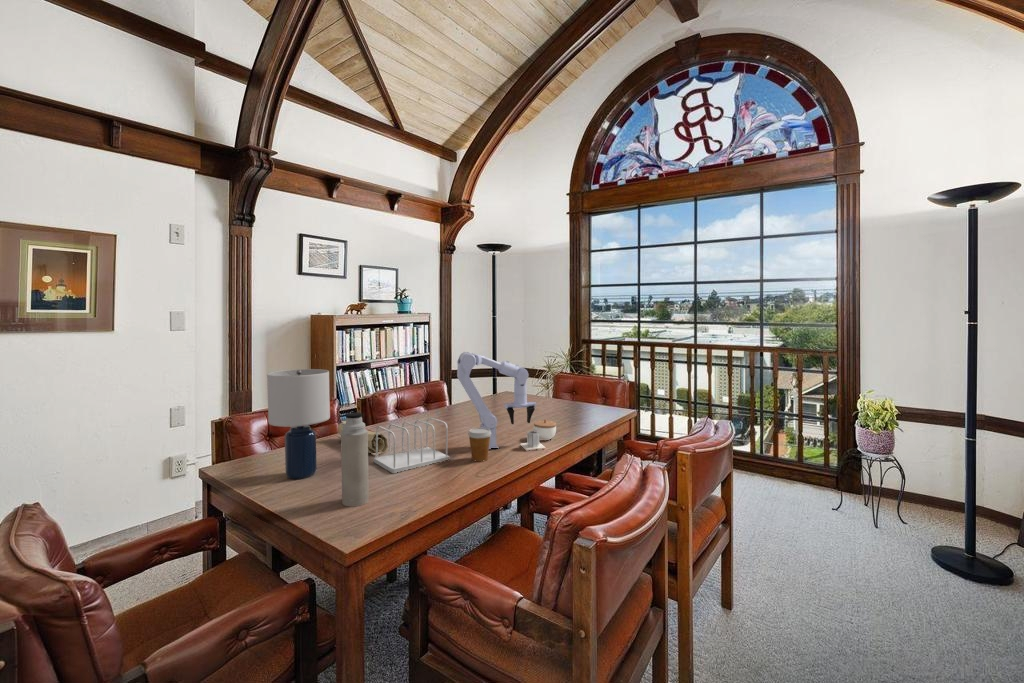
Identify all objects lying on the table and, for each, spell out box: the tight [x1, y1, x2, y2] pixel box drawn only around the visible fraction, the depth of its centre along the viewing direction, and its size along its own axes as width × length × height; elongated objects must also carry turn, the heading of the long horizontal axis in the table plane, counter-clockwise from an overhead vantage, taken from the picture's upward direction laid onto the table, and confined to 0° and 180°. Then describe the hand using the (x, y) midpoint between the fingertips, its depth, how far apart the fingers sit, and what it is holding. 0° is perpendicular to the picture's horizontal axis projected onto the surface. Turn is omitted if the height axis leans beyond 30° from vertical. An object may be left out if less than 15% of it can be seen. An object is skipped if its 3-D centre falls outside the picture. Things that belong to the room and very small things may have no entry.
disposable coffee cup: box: [467, 427, 491, 462], centre depth 184 cm, size 10×10×12 cm
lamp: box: [266, 368, 331, 480], centre depth 165 cm, size 20×20×39 cm
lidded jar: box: [533, 419, 557, 440], centre depth 215 cm, size 11×11×9 cm
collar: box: [526, 430, 540, 447], centre depth 200 cm, size 5×5×6 cm
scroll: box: [335, 420, 389, 456], centre depth 202 cm, size 11×34×10 cm, turn 43°
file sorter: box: [373, 416, 450, 474], centre depth 181 cm, size 25×17×16 cm
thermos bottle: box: [340, 412, 370, 507], centre depth 142 cm, size 8×8×28 cm
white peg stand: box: [520, 441, 547, 450], centre depth 201 cm, size 9×9×4 cm
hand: (520, 423), depth 205 cm, fingers open, 7 cm apart
